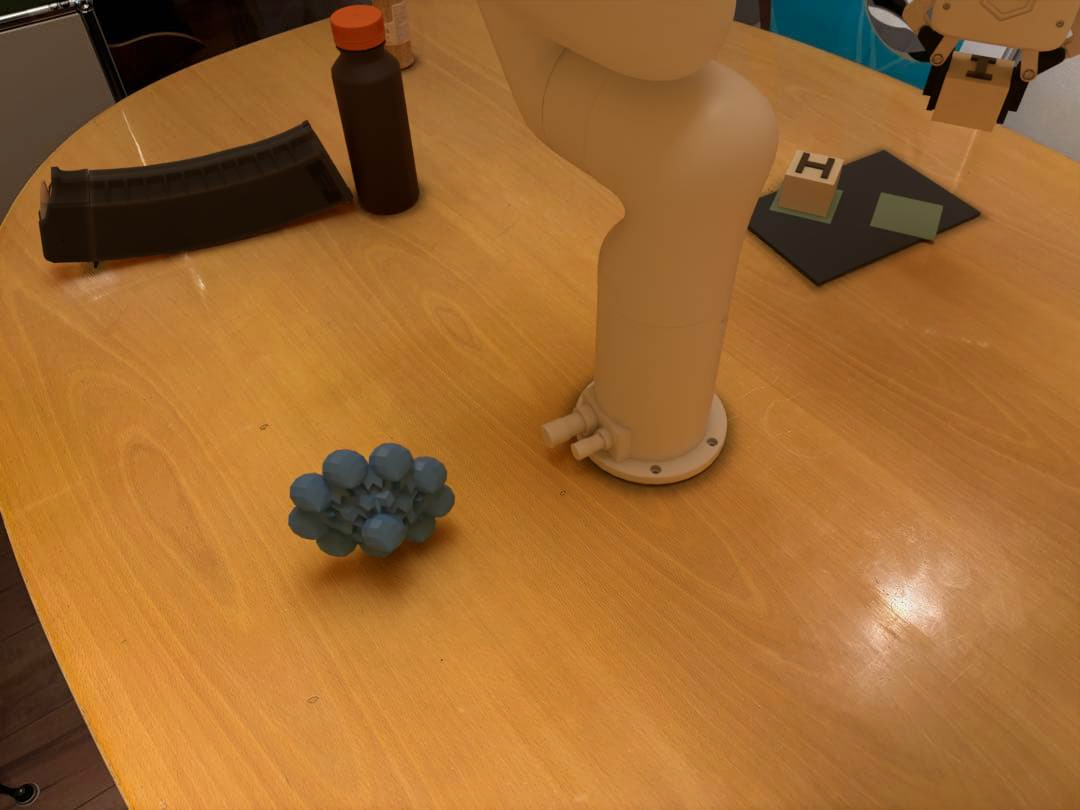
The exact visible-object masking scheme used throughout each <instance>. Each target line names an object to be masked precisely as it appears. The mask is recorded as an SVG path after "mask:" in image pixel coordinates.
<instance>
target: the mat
mask: <svg viewBox="0 0 1080 810" xmlns="http://www.w3.org/2000/svg"><path fill="white" fill-rule="evenodd" d="M783 182H784V179H782V182H781V183H780V186H779V188H778V190H776V191H774V192H771V193H769V194H765V195H763V196H761V197H759V199H758V201H757V204H756V206H755V209H754V211H753V214H752V216H751V219H750V222H749V225H748V228H747V230H749V231H750V232H752V234H754V235H755V236H757V237H758V238H759V239H760V240H762V242H764V243H765V244H766V245H767V246H769V247H770V248H771V249H772V250H774V251H775V252H776V253H777V254H778V255H780V256H781V257H782V258H783V259H784V260H786V261H787V262H788V263H789V264H790V265H791V266H793V267H794V268H795V269H796V270H798V271H799V272H800V273H801V274H803V275H804V276H805V277H806V278H808V279H809V280H810V281H811V282H812V283H813V284H815V285H816V286H817V287H818V286H821V285H824V284H826V283H828V282H831V281H832V280H835V279H837V278H839V277H841V276H845V275H846V274H849V273H851V272H853V271H855V270H858V269H860V268H862V267H865V266H867V265H869V264H871V263H874V262H876V261H878V260H880V259H883V258H885V257H888V256H890V255H892V254H894V253H896V252H897V253H898V252H899V251H901V250H903V249H906V248H908V247H910V246H913V245H915V244H917V243H920V242H922V241H924V240H926V241H931V242H935V240H936V236H937V235H939V234H940V233H943V232H945V231H947V230H950V229H952V228H954V227H957V226H959V225H961V224H963V223H966V222H968V221H971V220H972V219H975V218H977V217H979V216H981V213H982V212H981V211H980V210H978V209H977V208H975V207H973V206H972V205H971V204H969V203H967V202H966V201H964V200H963V199H962V198H960V197H958V196H956V195H955V194H953V193H952V192H950V191H948V190H947V189H945V188H944V187H942V186H941V185H940V184H938V183H936V182H935V181H933V180H932V179H930V178H929V177H927V176H925V175H924V174H923V173H921V172H920V171H917V169H915V168H914V167H912V166H910V165H909V164H907V163H906V162H904V161H902V160H901V159H899V158H898V157H896V156H895V155H893V154H891V153H890V152H888V151H887V150H885V149H882V150H880V151H876V152H875V153H872V154H870V155H867V156H864V157H861V158H858V159H856V160H854V161H852V162H849V163H846V164H843V166H842V170H841V174H840V178H839V181H838V185H837V189H836V192H835V195H834V197H833V200H832V202H831V205H830V207H829V210H828V212H827V215H826V217H822V216H817V215H813V214H809V213H804V212H800V211H796V210H791V209H787V208H783V207H779V206H778V205H779V200H780V196H781V191H782V186H783Z"/></svg>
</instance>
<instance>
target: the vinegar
mask: <svg viewBox="0 0 1080 810" xmlns="http://www.w3.org/2000/svg"><path fill="white" fill-rule="evenodd" d="M329 24H330V28H331V33H332V38H333V42H334V44H335V49H336V50H337V51H338V52H339V55H338V56H337V58H336V59H335V61H334V63H333V64H332V66H331V67H330V76H331V81H332V85H333V90H334V95H335V100H336V105H337V109H338V114H339V119H340V122H341V128H342V132H343V137H344V141H345V146H346V150H347V151H346V152H347V155H348V160H349V164H350V165H349V166H350V170H351V174H352V178H353V183H354V189H355V192H356V197H357V201H358V204H360V206H361V207H362V208H364V209H365V210H367V211H369V212H372V213H376V214H379V215H380V214H381V215H382V214H383V215H390V214H396V213H399V212H403V211H405V210H407V209H408V208H409V207H411V206H413V205H414V204H415V203H416V202H417V200H418V198H419V195H420V187H419V179H418V175H417V167H416V166H417V165H416V161H415V160H416V159H415V154H414V148H413V140H412V134H411V127H410V120H409V114H408V108H407V107H408V106H407V102H406V95H405V87H404V82H403V81H404V80H403V74H402V69H401V68H400V63H399V61H398V60H397V59H396V57H395V56H394V55H393V54H391V53H390V52H388V51H387V50H386V49H384V45H385V43H386V35H385V27H384V21H383V15H382V12H381V10H379V9H378V8H375V7H373V6H372V5H367V4H354V5H349V6H345V7H341V8H339V9H337V10H335V11H334V12H332V14H331V15H330V16H329Z"/></svg>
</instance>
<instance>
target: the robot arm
mask: <svg viewBox="0 0 1080 810" xmlns="http://www.w3.org/2000/svg"><path fill="white" fill-rule="evenodd" d="M476 4H477V6H478V8H479V11H480V14H481V16H482V19H483V22H484V24H485V27H486V30H487V33H488V35H489V36H490V40H491V42H492V45H493V48H494V51H495V53H496V55H497V58H498V61H499V64H500V66H501V68H502V71H503V73H504V77H505V79H506V81H507V84H508V86H509V89H510V91H511V95H512V97H513V99H514V102H515V103H516V106H517V108H518V111H519V112H520V115H521V116H522V118H523V121H524V122H525V123H526V125H527V126H528V128H529V130H530V131H531V132H532V134H533V135H534V136H535V137H536V138H537V139H538V140H539V141H540V142H541V143H542V144H543V145H544V146H546V147H547V148H549V150H551V151H552V152H554V153H555V154H557V155H558V156H559V157H561V158H562V159H564V160H565V161H567V162H568V163H570V164H571V165H573V166H574V167H576V168H577V169H579V170H580V171H582V172H583V173H585V174H587V175H588V176H589V177H591V178H592V179H594V180H595V181H596V182H597V183H598V184H600V185H601V186H603V187H604V188H606V189H607V190H608V191H610V192H612V193H613V194H614V195H615V196H616V197H617V198H618V199H619V201H620V202H621V203H622V206H623V208H624V216H623V218H621V219H620V220H619V221H617V223H615V224H614V225H613V226H612V227H611V228H610V229H609V230H608V231H607V233H606V235H605V237H604V238H603V240H602V242H601V245H600V248H599V253H598V259H597V273H596V276H597V277H596V284H597V289H596V290H597V292H596V294H597V295H596V318H595V319H596V323H595V326H596V327H595V346H594V347H595V348H594V375H593V377H594V378H593V380H592V381H591V382H590V383H589V384H588V385H587V386H586V387H585V388H584V389H582V391H581V394H580V396H579V397H578V400H577V402H576V405H575V407H572V411H571V413H570V414H567V415H565V416H563V417H558V418H556V419H553V420H551V421H549V422H547V423H544V424H542V425H540V426H539V432H540V436H541V438H542V440H543V442H544V444H545V445H546V446H547V447H548V448H549V449H551V448H554V447H556V446H558V445H561V444H563V443H565V442H567V441H570V440H571V438H573V437H576V439H577V441H576V442H573V443H571V444H570V451H571V454H572V456H573V457H574V458H575V459H576V460H577V461H581V460H582V459H586V458H587V457H588V458H589V459H590V460H591V462H593V463H594V464H595V465H596V466H598V467H599V468H600V469H601V470H603V471H604V472H607V473H609V474H610V475H612V476H614V477H617V478H620V479H623V480H625V481H627V482H632V483H638V484H643V485H666V484H674V483H678V482H681V481H684V480H687V479H690V478H692V477H694V476H696V475H698V474H700V473H702V472H703V471H704V470H706V469H707V468H708V467H710V466H711V465H712V464H713V462H714V461H715V460H716V459H717V458H718V457H719V455H720V454H721V451H722V449H723V447H724V446H725V441H726V437H727V432H728V418H727V411H726V409H725V407H724V405H723V402H722V400H721V399H720V397H719V396H718V395H717V393H716V392H715V391H716V384H717V379H718V373H719V368H720V362H721V357H722V353H723V352H722V351H723V347H724V342H725V336H726V331H727V325H728V318H729V313H730V308H731V303H732V297H733V293H734V286H735V281H736V276H737V270H738V266H739V261H740V258H741V253H742V248H743V245H744V241H745V238H746V237H745V236H746V234H747V231H748V225H749V222H750V219H751V216H752V214H753V211H754V209H755V206H756V204H757V201H758V199H759V198H760V196H761V194H762V193H763V190H764V187H765V185H766V183H767V181H768V178H769V176H770V173H771V170H772V168H773V166H774V162H775V159H776V156H777V152H778V148H779V140H780V139H779V138H780V132H779V122H778V119H777V115H776V113H775V111H774V108H773V106H772V105H771V103H770V101H769V100H768V99H767V97H766V95H765V94H764V93H763V92H762V91H761V90H760V89H759V88H758V87H757V86H756V85H755V84H754V83H752V82H751V81H750V80H749V79H748V78H746V77H745V76H744V75H742V74H740V73H739V72H737V71H736V70H734V69H733V68H731V67H730V66H728V65H726V64H724V63H722V62H720V61H718V60H716V59H715V57H716V56H717V55H718V54H719V52H720V51H721V49H722V48H723V46H724V44H725V43H726V41H727V38H728V37H729V34H730V31H731V29H732V25H733V22H734V19H735V13H736V8H737V7H736V6H737V0H476ZM932 8H933V9H932ZM931 9H932V12H931V18H929V17H930V16H929V15H928V14H927V12H929V11H930V10H931ZM901 18H902V21H904V23H905V24H906V25H907V26H908V27H909V28H910V30H911V31H912V32H913V33H914V34H915V35H916V36H917V39H918V41H919V43H920V44H921V46H922V48H923V49H924V50H925V52H926V54H927V55H928V57H929V62H930V64H931V65H930V69H929V71H928V75H927V78H926V82H925V85H924V88H923V91H922V94H921V95H922V96H925V97H929V100H928V102H927V106H926V108H925V110H926V111H928V112H933V111H934V109H935V106H936V103H937V101H938V98H939V95H940V92H941V89H942V86H943V83H944V80H945V77H946V74H947V72H948V69H949V66H950V63H951V60H952V57H953V56H952V53H953V50H954V49H955V47H956V46H957V44H958V43H959V41H960V40H963V41H966V42H973V43H978V44H979V43H980V44H984V45H985V44H986V45H991V46H997V47H1003V48H1010V49H1016V50H1021V58H1020V60H1019V61H1018V63H1016V66H1014V67H1013V72H1012V76H1011V81H1010V88H1009V91H1008V93H1007V96H1006V98H1005V101H1004V103H1003V106H1002V108H1001V111H1000V113H999V116H998V118H997V121H996V124H997V125H1004V123H1005V121H1006V118H1007V116H1008V114H1009V112H1013V113H1017V112H1018V110H1019V107H1020V105H1021V103H1022V100H1023V98H1024V95H1025V93H1026V91H1027V88H1028V86H1029V83H1030V82H1033V81H1034V80H1035V79H1036V78H1037V76H1039V75H1040V74H1043V73H1045V72H1046V71H1048V70H1050V69H1052V68H1054V67H1056V66H1058V65H1060V64H1062V63H1063V62H1064V61H1065V60H1067V59H1072V58H1074V57H1076V56H1079V55H1080V0H911V1H910V2H909V3H908V4H906V5H905V7H904V8H903V11H902V13H901ZM1070 31H1071V35H1069V33H1070ZM1068 35H1069V37H1068Z"/></svg>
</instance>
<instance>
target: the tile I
mask: <svg viewBox="0 0 1080 810" xmlns="http://www.w3.org/2000/svg"><path fill="white" fill-rule="evenodd" d="M951 56H953V57H952V60H951V63H950V66H949V69H948V72H947V74H946V77H945V80H944V83H943V86H942V89H941V92H940V95H939V98H938V101H937V103H936V106H935V109H934V110H933V111H932V112H933V113H932V116H931V118H930V119H931V120H930V121H931V122H936V123H937V122H938V123H941V124H947V125H952V126H956V127H957V126H958V127H963V128H967V129H973V130H978V131H983V132H989V133H992V132H993V131H994V129H995V126H996V124H997V122H996V121H997V118H998V116H999V113H1000V111H1001V108H1002V106H1003V103H1004V101H1005V98H1006V96H1007V93H1008V91H1009V88H1010V81H1011V76H1012V72H1013V67H1015V65H1016V61H1015V60H1010V59H1005V58H998V57H993V56H987V55H981V54H976V53H975V54H974V53H969V52H963V51H959V50H958V51H957V50H954V51H952V54H951Z"/></svg>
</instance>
